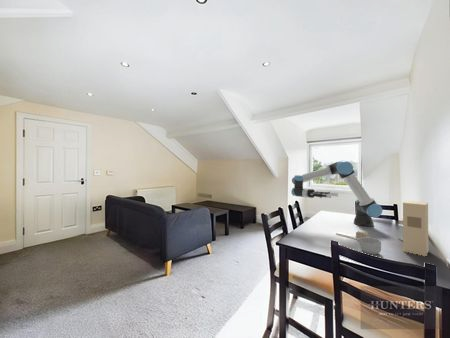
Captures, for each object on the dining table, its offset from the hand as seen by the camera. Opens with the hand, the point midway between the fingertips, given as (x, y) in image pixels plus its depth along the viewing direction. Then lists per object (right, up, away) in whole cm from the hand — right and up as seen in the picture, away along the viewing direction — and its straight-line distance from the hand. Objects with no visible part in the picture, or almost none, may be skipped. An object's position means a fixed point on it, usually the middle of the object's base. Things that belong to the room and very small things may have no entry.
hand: (334, 195), depth 157 cm
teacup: (+2, -30, -36) cm, 47 cm away
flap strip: (+7, -30, -11) cm, 33 cm away
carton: (+30, -30, -36) cm, 56 cm away
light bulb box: (+41, -30, -19) cm, 55 cm away
